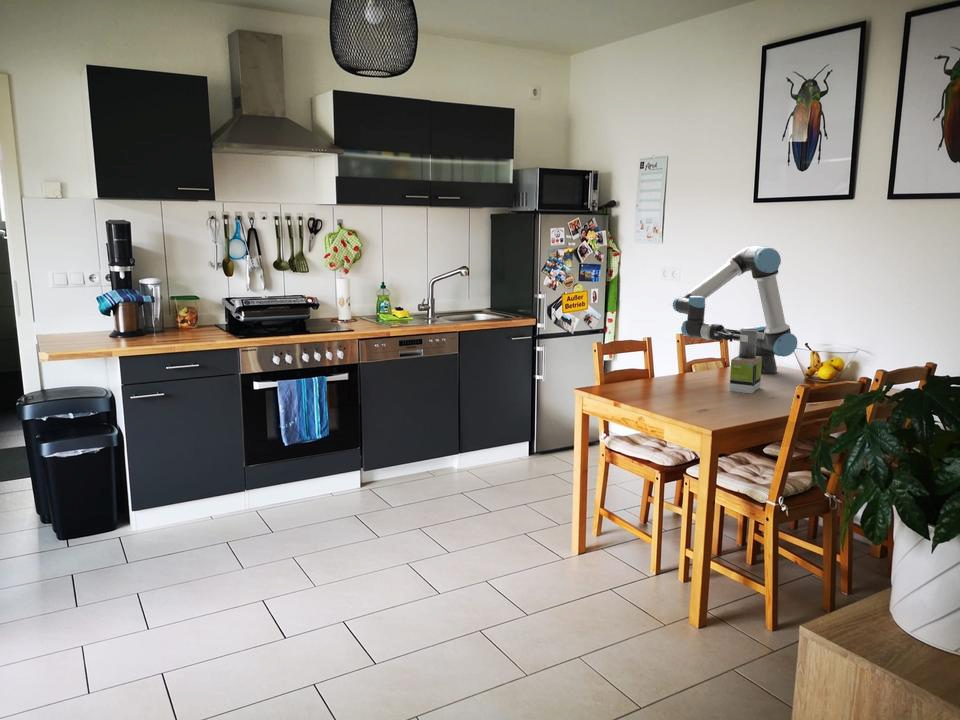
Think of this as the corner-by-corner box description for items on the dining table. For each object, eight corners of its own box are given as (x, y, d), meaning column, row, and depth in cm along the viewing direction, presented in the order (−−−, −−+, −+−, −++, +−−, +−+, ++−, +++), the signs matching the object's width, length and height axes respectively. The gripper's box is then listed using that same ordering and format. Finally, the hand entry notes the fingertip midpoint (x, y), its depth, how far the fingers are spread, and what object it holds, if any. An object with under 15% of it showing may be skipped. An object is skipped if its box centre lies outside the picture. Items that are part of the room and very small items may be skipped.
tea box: (737, 385, 331) (740, 353, 328) (760, 388, 326) (763, 356, 323) (728, 391, 319) (731, 358, 316) (752, 394, 313) (754, 360, 311)
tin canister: (746, 355, 324) (748, 326, 322) (759, 357, 318) (761, 328, 316) (735, 356, 321) (736, 327, 319) (747, 359, 315) (749, 329, 313)
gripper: (727, 337, 340) (769, 343, 324) (696, 342, 324) (739, 348, 308) (728, 321, 339) (771, 326, 322) (697, 325, 323) (740, 331, 307)
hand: (755, 337), depth 315 cm, fingers open, 13 cm apart
